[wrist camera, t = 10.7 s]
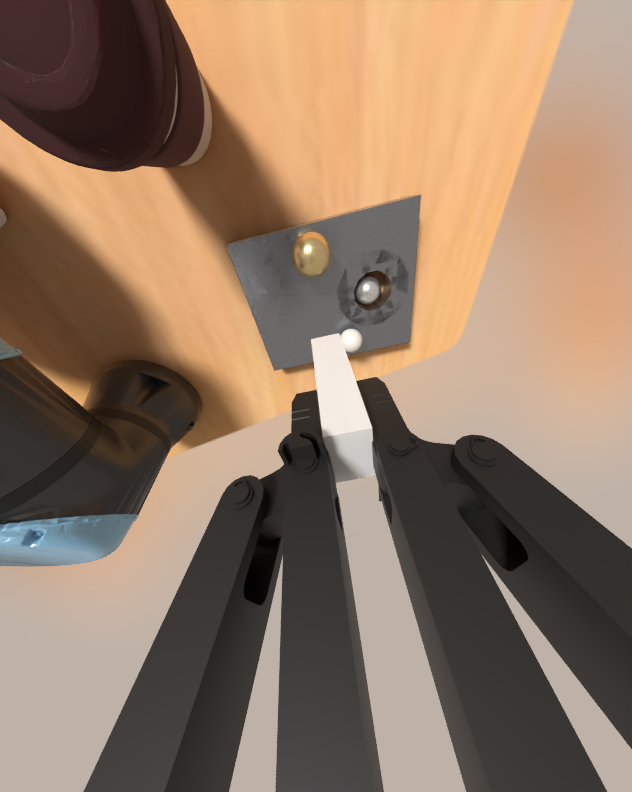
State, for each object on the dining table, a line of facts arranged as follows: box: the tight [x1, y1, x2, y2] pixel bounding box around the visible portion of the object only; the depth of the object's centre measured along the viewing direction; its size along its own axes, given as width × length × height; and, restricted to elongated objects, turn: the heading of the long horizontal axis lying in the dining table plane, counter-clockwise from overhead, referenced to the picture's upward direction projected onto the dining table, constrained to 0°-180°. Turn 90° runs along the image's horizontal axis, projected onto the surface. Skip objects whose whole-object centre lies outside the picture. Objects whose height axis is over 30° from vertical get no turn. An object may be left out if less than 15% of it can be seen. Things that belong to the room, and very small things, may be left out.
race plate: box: [226, 195, 421, 371], centre depth 29 cm, size 20×16×2 cm
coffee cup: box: [0, 0, 212, 172], centre depth 13 cm, size 10×10×15 cm
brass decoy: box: [292, 232, 332, 278], centre depth 23 cm, size 4×4×4 cm
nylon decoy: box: [340, 329, 362, 352], centre depth 30 cm, size 3×3×3 cm
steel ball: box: [354, 276, 381, 304], centre depth 28 cm, size 3×3×3 cm
